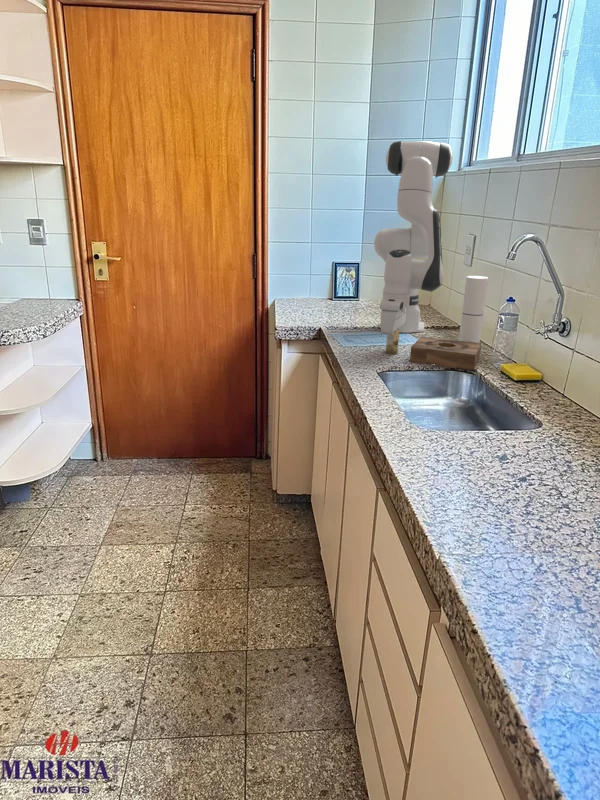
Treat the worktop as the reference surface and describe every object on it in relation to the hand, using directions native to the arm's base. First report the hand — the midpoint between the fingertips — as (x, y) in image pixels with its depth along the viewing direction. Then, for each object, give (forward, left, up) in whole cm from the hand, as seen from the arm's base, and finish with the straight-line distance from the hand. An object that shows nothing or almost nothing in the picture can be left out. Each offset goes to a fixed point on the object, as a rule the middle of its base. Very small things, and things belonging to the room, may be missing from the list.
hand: (392, 341), depth 187 cm
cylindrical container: (-19, +23, -4) cm, 30 cm away
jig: (0, +18, -4) cm, 18 cm away
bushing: (0, 0, -4) cm, 4 cm away
